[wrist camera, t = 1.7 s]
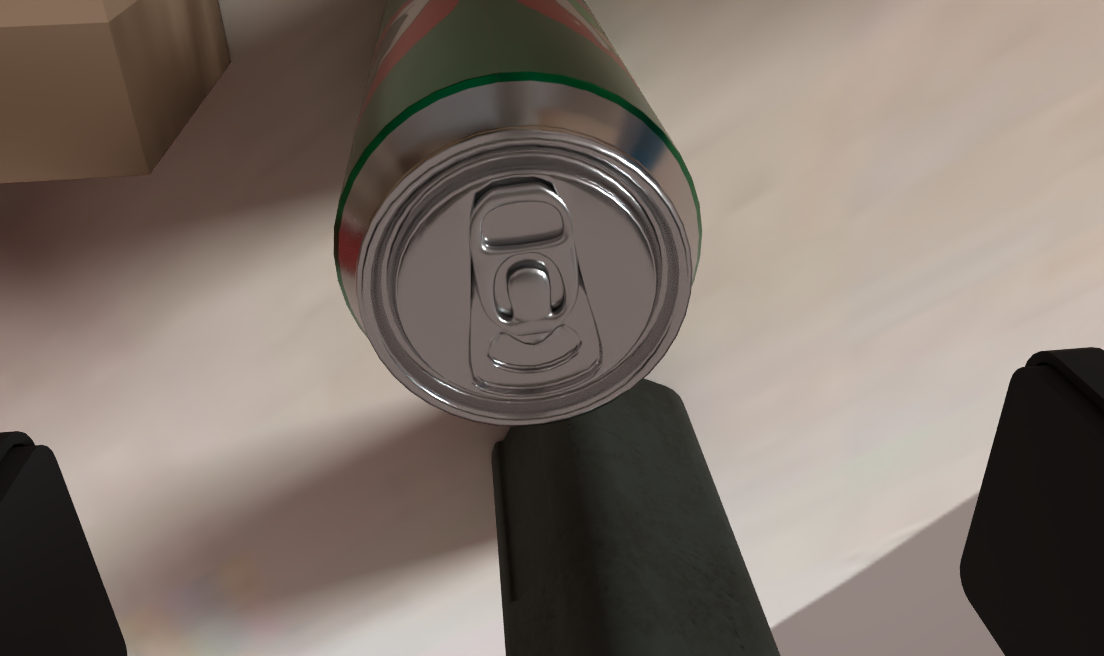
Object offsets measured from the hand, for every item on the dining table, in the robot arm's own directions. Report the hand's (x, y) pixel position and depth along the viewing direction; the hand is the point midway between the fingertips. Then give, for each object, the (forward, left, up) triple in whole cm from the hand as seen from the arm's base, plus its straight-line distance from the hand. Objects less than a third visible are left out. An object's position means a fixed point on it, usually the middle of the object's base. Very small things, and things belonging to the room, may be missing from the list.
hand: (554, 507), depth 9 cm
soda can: (-1, 0, -16) cm, 15 cm away
